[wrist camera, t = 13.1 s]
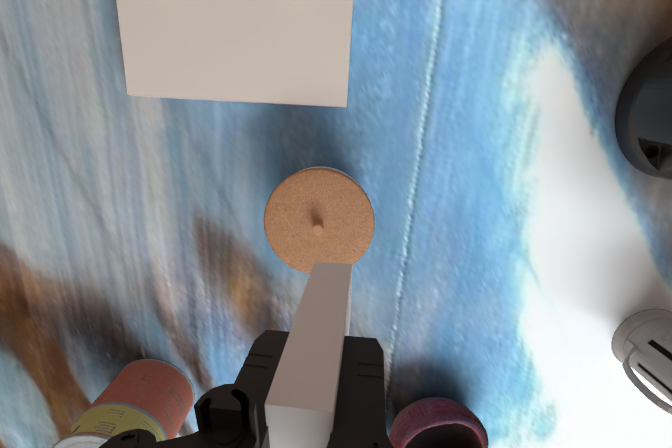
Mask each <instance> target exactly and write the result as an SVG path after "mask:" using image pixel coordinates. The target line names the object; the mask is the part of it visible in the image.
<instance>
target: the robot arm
mask: <svg viewBox="0 0 672 448" xmlns="http://www.w3.org/2000/svg"><path fill="white" fill-rule="evenodd" d="M615 127H616V136H617V140H618V143H619V146H620V149H621V151H622V153H623V154H624V156H625V157H626V159H627V160H628V161H629V162H630V163H631V164H632V165H633V166H634V167H636V168H637V169H638V170H640V171H642V172H644V173H646V174H648V175H651V176H655V177H660V178H665V179H670V180H672V38H670V39H668V40H667V41H665V42H664V43H662V44H661V45H659V46H658V47H657V48H655V49H654V50H653V51H652V52H651V53H650V54H649V55H648V56H647V57H646V58H644V60H643V61H642V62H641V63H640V64H639V65H638V67H637V68H636V69H635V70H634V72H633V73H632V75H631V76H630V78H629V80H628V81H627V83H626V85H625V87H624V89H623V91H622V94H621V96H620V100H619V103H618V107H617V112H616V121H615ZM351 286H352V264H346V263H332V262H317V261H315V262H314V265H313V267H312V270H311V273H310V276H309V279H308V282H307V285H306V287H305V290H304V293H303V296H302V299H301V302H300V305H299V307H298V310H297V313H296V316H295V319H294V322H293V325H292V327H291V330H290V332H285V331H274V330H266V331H264V332H263V333H262V334H261V335H260V336H259V337H258V338H257V339H256V340H255V341H254V343H253V345H252V347H251V349H250V351H249V354H248V356H247V357H246V360H245V362H244V364H243V367H242V368H241V370H240V372H239V374H238V376H237V378H236V381H235V383H234V384H224V385H221V386H218V387H215V388H213V389H211V390H210V391H208V392H207V393H205V394H204V395H202V396H201V397H200V399H199V400H198V401H197V402H196V404H195V405H194V409H195V414H196V419H197V424H198V429H199V431H197V432H195V433H193V434H190V435H187V436H183V437H178V438H173V439H168V440H163V441H158V442H157V441H156V437H155V435H153V434H152V433H151V432H150V431H149V430H144V429H138V428H137V429H132V430H127V431H124V432H122V433H120V434H117V435H115V436H113V437H111V438H110V439H109V440H107V441H106V442H105V443H104V444H102V445H101V446H100V447H99V448H394V447H393V445H392V444H391V443H390V440H389V438H388V436H387V432H386V426H385V393H384V357H383V350H382V348H381V346H380V344H379V342H378V341H377V339H376V338H364V337H353V336H348V335H349V326H350V310H351Z"/></svg>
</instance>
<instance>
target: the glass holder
mask: <svg viewBox="0 0 672 448" xmlns="http://www.w3.org/2000/svg"><path fill="white" fill-rule="evenodd" d="M612 351H613V354H614V355H615V357H616V358H617V359H618V360H619V361H620V362H622V363H623V368H624V370H625V372H626V374H627V376H628V378H629V379H630V380H631V381H632V383H633V384H634V385H635V386H636V387H637V388H638V389H639V390H640V391H641V392H642V393H643V394H644V395H645V396H646V397H647V398H648V399H650V400H651V401H652V402H653V403H654V404H656V405H657V406H659V407H660V408H662V409H663V410H665V411H666V412H668V413H670V414H672V406H671V405H669V404H667V403H666V402H664V401H663V400H661V399H660V398H659V397H657V396H656V395H655V394H654V393H652V392H651V391H650V390H649V389H648V388H647V387H646V386H645V385H644V384H643V383H642V382H641V381H640V380H639V379H638V378H637V376H636V375H635V374H634V373H633V371H632V369H631V367H632V368H634V369H635V370H636V371H637V372H638V373H639V374H640V375H642V376H643V377H644V378H645V379H646V380H647V381H649V382H650V383H651V384H652V385H653V386H654V387H655V388H657V389H658V390H659V391H660V392H661V393H662V394H664V395H665V396H666V397H667V398H668V399H669V400H670V401H672V313H671V312H668V311H665V310H660V309H650V310H645V311H641V312H639V313H636V314H634V315H632V316H630V317H629V318H627V319H626V320H625V321H624V322H623V323H621V325H620V326H619V327H618V328H617V330H616V331H615V333H614V335H613V338H612ZM630 366H631V367H630Z"/></svg>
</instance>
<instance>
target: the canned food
mask: <svg viewBox="0 0 672 448" xmlns="http://www.w3.org/2000/svg"><path fill="white" fill-rule="evenodd" d="M194 399H195V394H194V389H193V386H192V384H191V382H190V380H189V379H188V377H187V376H186V375H185V374H184V373H183V372H182V371H181V370H180V369H178V368H177V367H175V366H174V365H172V364H170V363H167V362H165V361H161V360H157V359H140V360H136V361H133V362H131V363H129V364H128V365H126V366H125V367H124V368H123V369H122V370H121V371H120V373H119V374H118V376H117V377H116V378H115V379H114V380H113V381H112V382H111V383H110V385H109V386H108V387H107V388H106V389H105V390H104V391H103V392H102V394H101V395H100V396H99V397H98V398H97V399H96V400H95V401H94V403H93V404H92V405H91V406H90V407H89V408H88V409H87V410H86V412H85V413H84V414H83V415H82V416H81V417H80V418H79V419H78V420H77V422H76V423H75V424H74V425H73V426H72V427H71V428H70V429H69V431H68V432H67V433H66V434H65V435H64V436H63V437H62V438H61V440H60V441H58V442H57V443H56V444H55V445H54V446H53V447H52V448H99V447H100V446H101V445H102V444H104V443H105V442H106V441H107V440H109V439H110V438H111V437H113V436H115V435H117V434H120V433H122V432H124V431H127V430H132V429H137V428H138V429H144V430H149V431H150V432H151V433H152V434H153V435H155V437H156V441H157V442H158V441H163V440H168V439H173V438H175V437H176V435H177V433H178V431H179V429H180V427H181V425H182V424H183V422H184V420H185V418H186V416H187V414H188V413H189V411H190V410H191V408H192V406H193V404H194Z"/></svg>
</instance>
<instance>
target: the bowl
mask: <svg viewBox="0 0 672 448" xmlns="http://www.w3.org/2000/svg"><path fill="white" fill-rule="evenodd" d="M487 436H488V435H487V432H486V429H485V428H484V427H483V425H482V423H481V422H480V420H479V419H478V418H477V417H476V416H475V415H474V413H473V412H472V411H470V410H469V409H468V408H467V407H465V406H464V405H462V404H461V403H459V402H457V401H455V400H452V399H449V398H444V397H426V398H422V399H419V400H417V401H415V402H413V403H411V404H409V405H408V406H406V407H405V408H404V409H403V410H401V411H400V412H399V414H398V415H397V416H396V418H395V420H394V422H393V424H392V426H391V429H390V432H389V436H388V438H389V440H390V443H391V444H392V445H393V447H394V448H488V447H487V446H488V437H487Z"/></svg>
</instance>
